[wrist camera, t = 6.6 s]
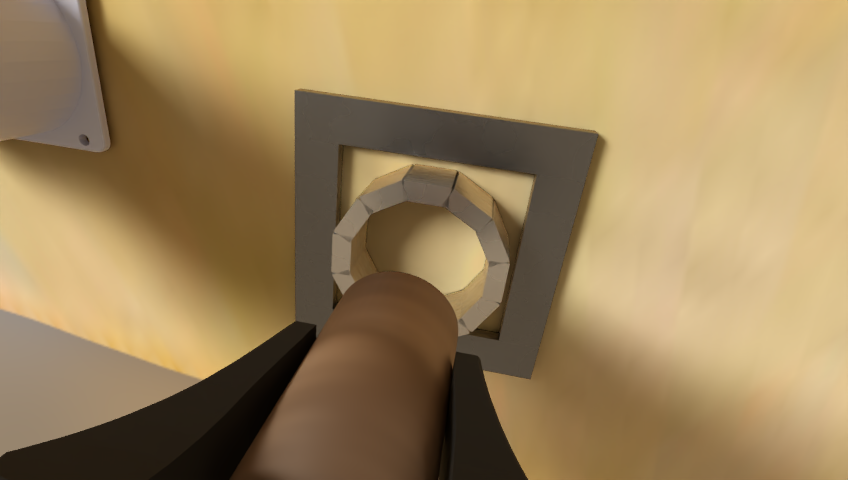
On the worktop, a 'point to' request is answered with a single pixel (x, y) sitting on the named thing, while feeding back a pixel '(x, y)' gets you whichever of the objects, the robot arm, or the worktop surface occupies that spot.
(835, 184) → the worktop surface
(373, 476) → the walnut peg
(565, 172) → the cup bracket
